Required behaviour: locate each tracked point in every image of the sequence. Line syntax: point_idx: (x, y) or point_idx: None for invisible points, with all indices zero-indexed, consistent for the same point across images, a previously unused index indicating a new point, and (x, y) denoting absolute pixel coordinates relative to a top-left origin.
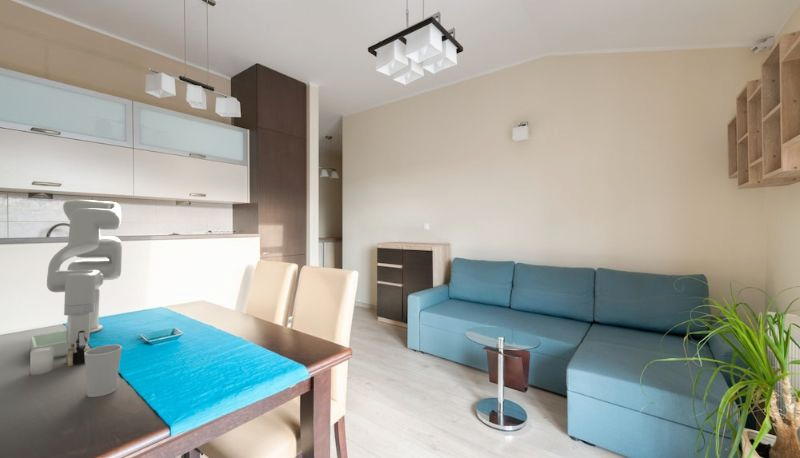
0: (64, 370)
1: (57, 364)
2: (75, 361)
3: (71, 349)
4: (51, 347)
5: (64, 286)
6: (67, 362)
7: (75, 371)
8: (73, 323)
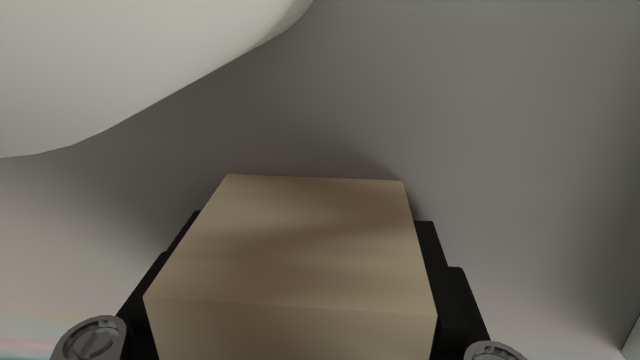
0: None
1: (390, 102)
2: None
3: (261, 334)
4: (47, 104)
5: None
6: (325, 184)
7: (11, 190)
8: None
